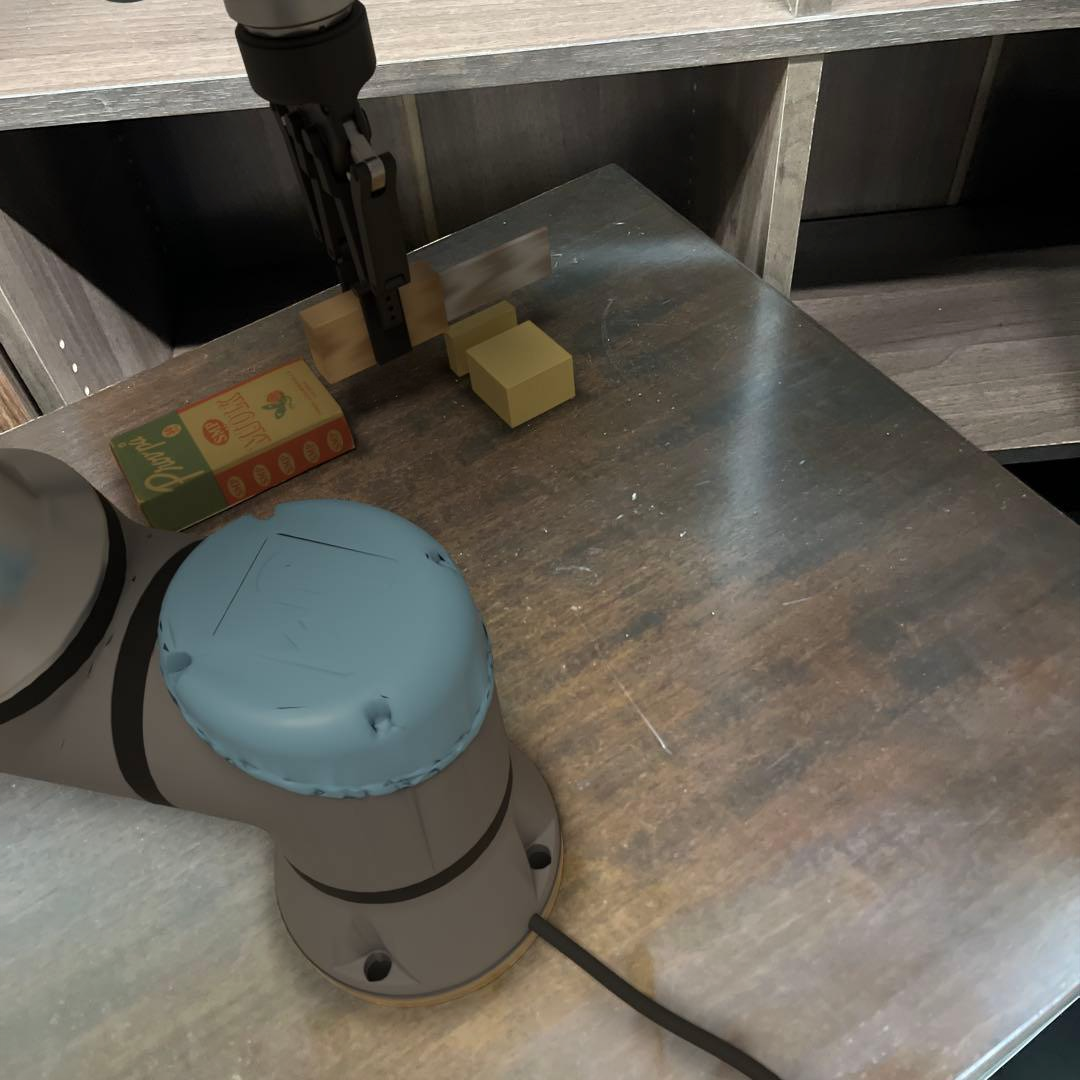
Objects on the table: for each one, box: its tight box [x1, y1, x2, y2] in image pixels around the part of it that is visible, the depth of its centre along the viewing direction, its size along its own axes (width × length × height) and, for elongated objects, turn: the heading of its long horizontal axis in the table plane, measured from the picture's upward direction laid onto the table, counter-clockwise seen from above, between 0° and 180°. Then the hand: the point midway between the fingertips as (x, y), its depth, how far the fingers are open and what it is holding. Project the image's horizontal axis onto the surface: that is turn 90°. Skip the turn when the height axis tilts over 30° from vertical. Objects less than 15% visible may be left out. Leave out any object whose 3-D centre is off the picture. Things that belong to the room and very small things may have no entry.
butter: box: [466, 319, 576, 429], centre depth 77 cm, size 6×6×4 cm
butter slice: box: [443, 300, 518, 378], centre depth 81 cm, size 2×6×4 cm, turn 124°
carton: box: [107, 356, 356, 532], centre depth 74 cm, size 8×16×4 cm, turn 122°
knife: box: [298, 225, 553, 385], centre depth 73 cm, size 20×2×5 cm, turn 124°
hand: (384, 344), depth 73 cm, fingers closed on knife, 2 cm apart
